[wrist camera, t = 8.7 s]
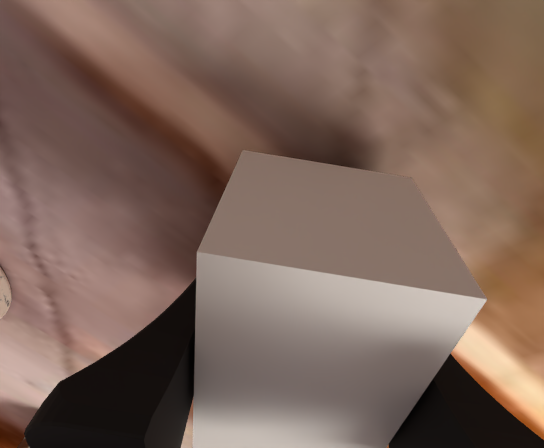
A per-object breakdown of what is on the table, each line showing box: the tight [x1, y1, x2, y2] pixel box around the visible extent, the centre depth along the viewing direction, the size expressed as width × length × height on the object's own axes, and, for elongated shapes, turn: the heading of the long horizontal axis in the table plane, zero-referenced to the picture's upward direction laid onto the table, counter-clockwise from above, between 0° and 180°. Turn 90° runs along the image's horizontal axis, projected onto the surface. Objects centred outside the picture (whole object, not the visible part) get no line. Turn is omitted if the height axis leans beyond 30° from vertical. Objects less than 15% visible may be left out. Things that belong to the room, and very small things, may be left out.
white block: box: [193, 150, 487, 448], centre depth 12 cm, size 6×10×6 cm, turn 172°
